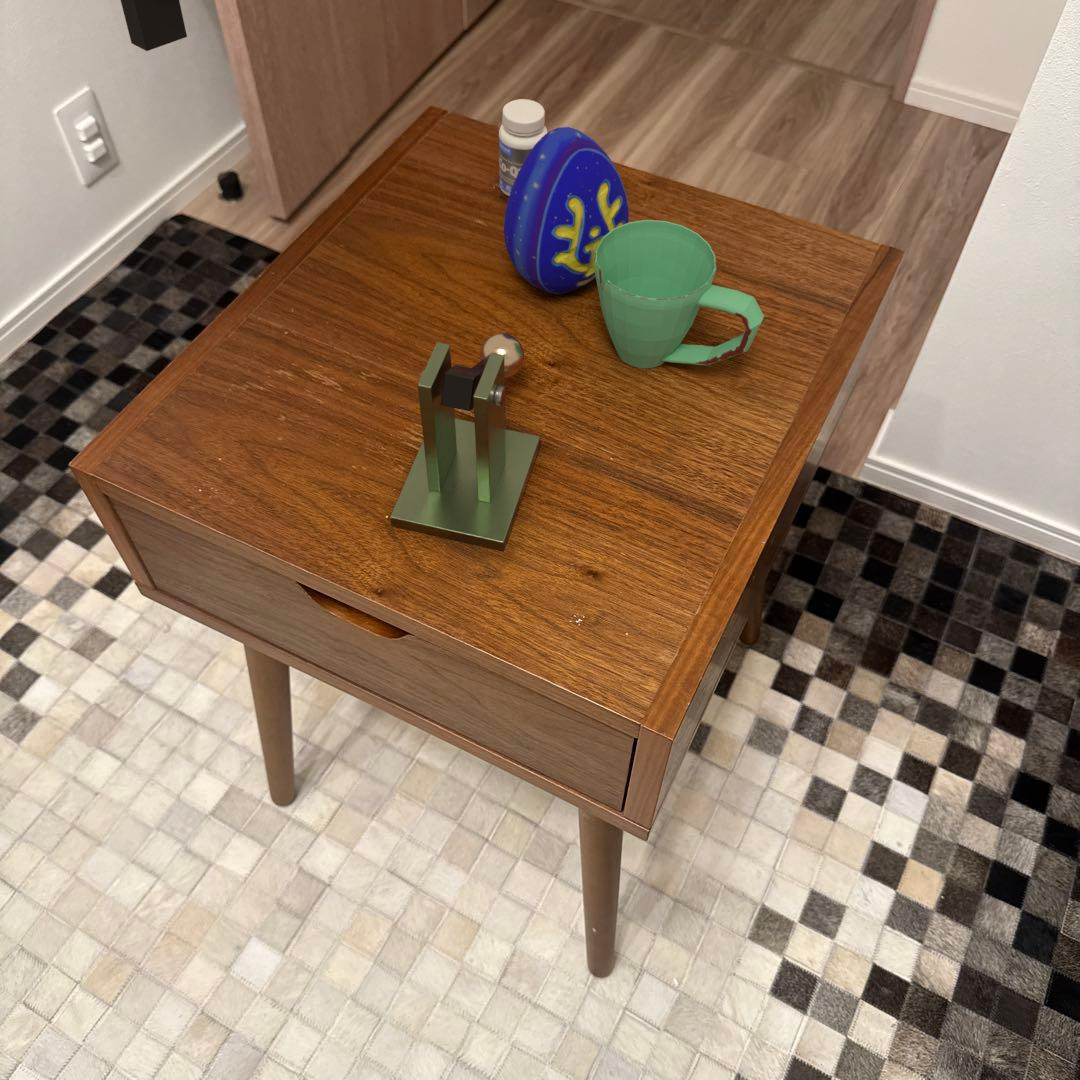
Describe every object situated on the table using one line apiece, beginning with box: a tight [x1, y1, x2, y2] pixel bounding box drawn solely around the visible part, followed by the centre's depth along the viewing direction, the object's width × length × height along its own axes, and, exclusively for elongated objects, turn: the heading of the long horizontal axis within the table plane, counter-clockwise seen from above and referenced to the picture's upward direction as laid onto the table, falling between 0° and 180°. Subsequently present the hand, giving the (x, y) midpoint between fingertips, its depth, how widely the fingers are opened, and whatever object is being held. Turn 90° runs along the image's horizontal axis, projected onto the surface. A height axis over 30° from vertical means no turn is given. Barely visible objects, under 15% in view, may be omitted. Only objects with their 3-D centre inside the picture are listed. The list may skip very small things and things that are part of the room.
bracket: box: [389, 341, 541, 552], centre depth 80 cm, size 11×9×13 cm
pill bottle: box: [498, 98, 549, 197], centre depth 104 cm, size 5×5×8 cm
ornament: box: [503, 126, 630, 295], centre depth 94 cm, size 11×9×15 cm
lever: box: [441, 332, 525, 412], centre depth 82 cm, size 15×4×4 cm
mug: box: [595, 219, 765, 369], centre depth 90 cm, size 15×10×10 cm
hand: (159, 39), depth 61 cm, fingers closed
